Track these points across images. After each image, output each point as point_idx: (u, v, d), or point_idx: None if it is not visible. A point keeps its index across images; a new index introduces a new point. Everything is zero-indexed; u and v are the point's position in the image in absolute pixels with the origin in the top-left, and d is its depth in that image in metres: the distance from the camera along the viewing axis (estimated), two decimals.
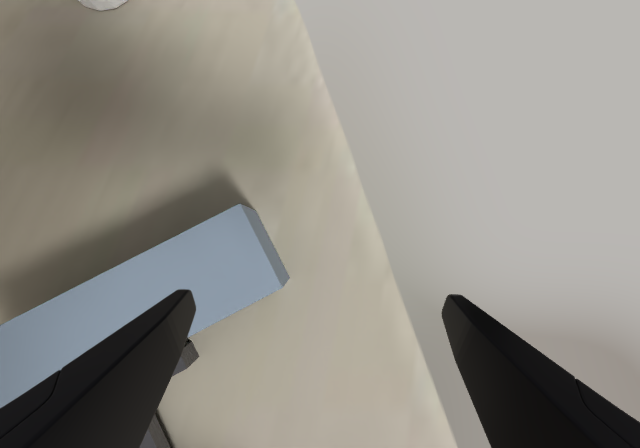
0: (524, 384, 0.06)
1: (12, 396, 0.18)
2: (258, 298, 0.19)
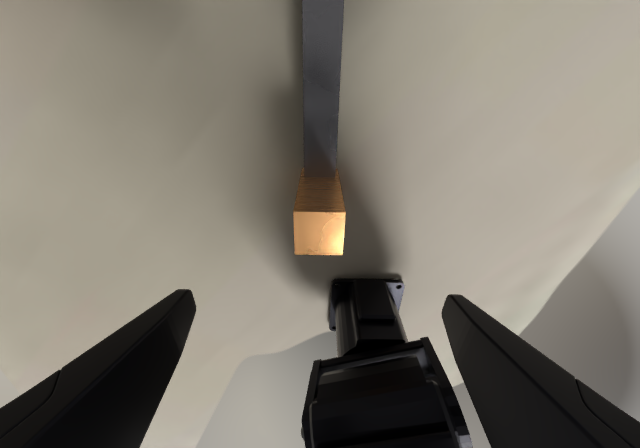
0: (524, 384, 0.06)
1: None
2: None
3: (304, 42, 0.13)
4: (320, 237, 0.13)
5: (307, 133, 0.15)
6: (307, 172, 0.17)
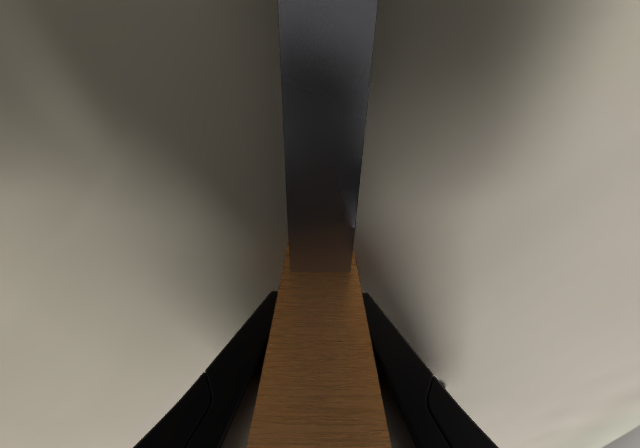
0: (384, 381, 0.06)
1: None
2: None
3: None
4: None
5: (294, 195, 0.07)
6: (296, 264, 0.08)
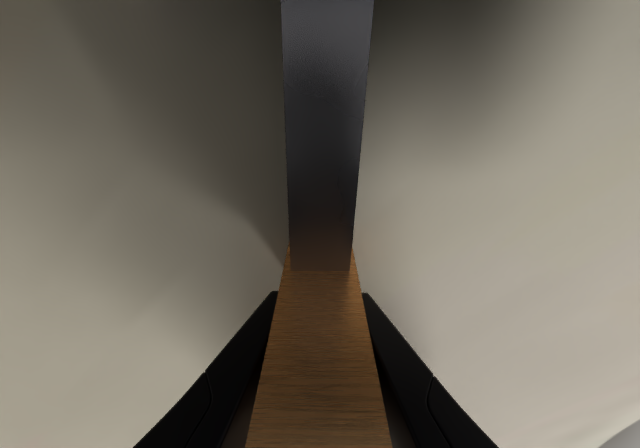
0: (384, 382, 0.06)
1: None
2: None
3: None
4: None
5: (295, 194, 0.08)
6: (296, 262, 0.09)
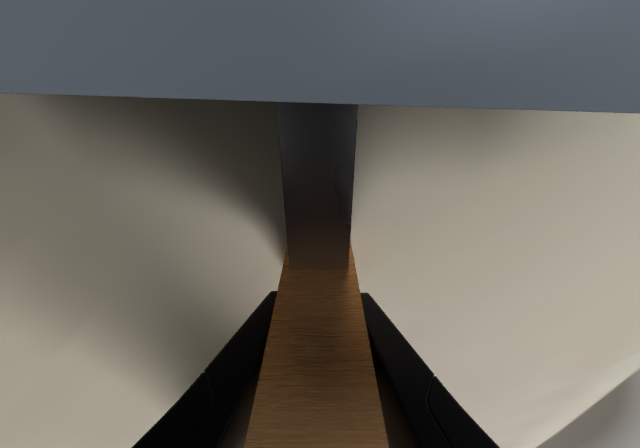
0: (385, 381, 0.06)
1: None
2: None
3: None
4: None
5: (291, 194, 0.08)
6: (295, 262, 0.09)
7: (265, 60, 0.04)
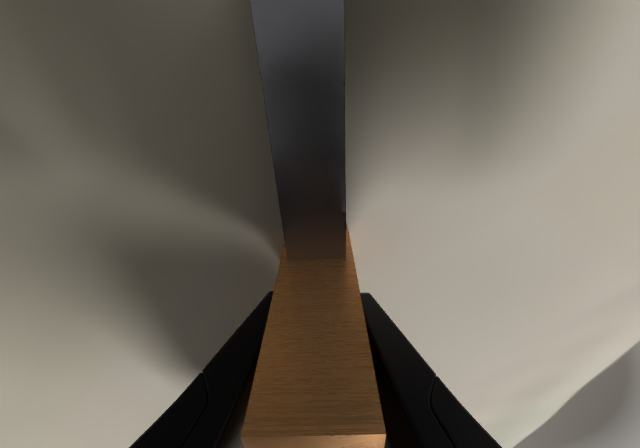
0: (387, 382, 0.06)
1: None
2: None
3: None
4: None
5: (284, 185, 0.08)
6: (292, 253, 0.09)
7: None
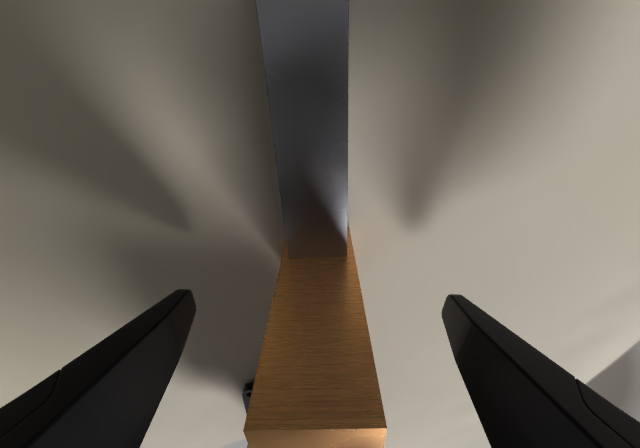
0: (524, 384, 0.06)
1: None
2: None
3: None
4: None
5: (286, 183, 0.08)
6: (293, 251, 0.09)
7: None
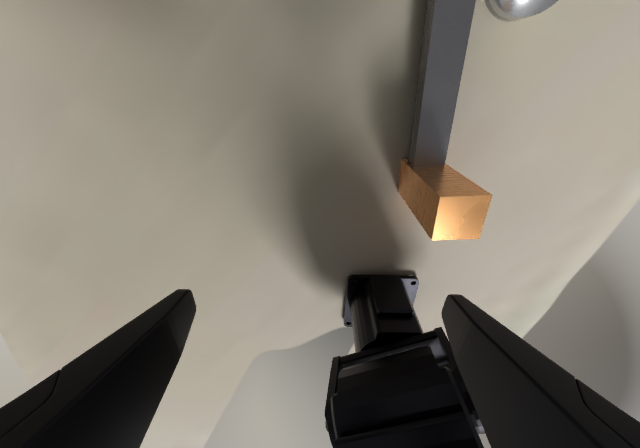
0: (524, 384, 0.06)
1: None
2: None
3: (432, 32, 0.14)
4: (461, 221, 0.13)
5: (422, 123, 0.16)
6: (417, 162, 0.17)
7: None
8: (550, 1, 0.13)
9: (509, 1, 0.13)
